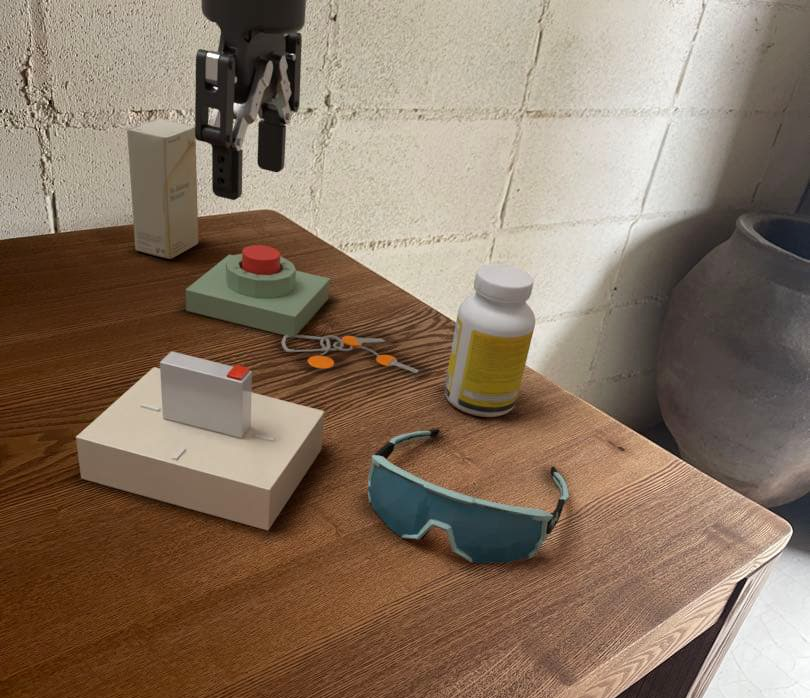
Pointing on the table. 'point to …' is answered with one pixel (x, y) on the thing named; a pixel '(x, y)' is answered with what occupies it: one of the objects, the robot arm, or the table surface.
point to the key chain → (347, 340)
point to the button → (261, 260)
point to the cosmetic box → (163, 187)
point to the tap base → (202, 455)
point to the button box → (258, 296)
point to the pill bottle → (491, 342)
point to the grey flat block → (206, 394)
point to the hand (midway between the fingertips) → (249, 182)
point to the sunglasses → (457, 512)
